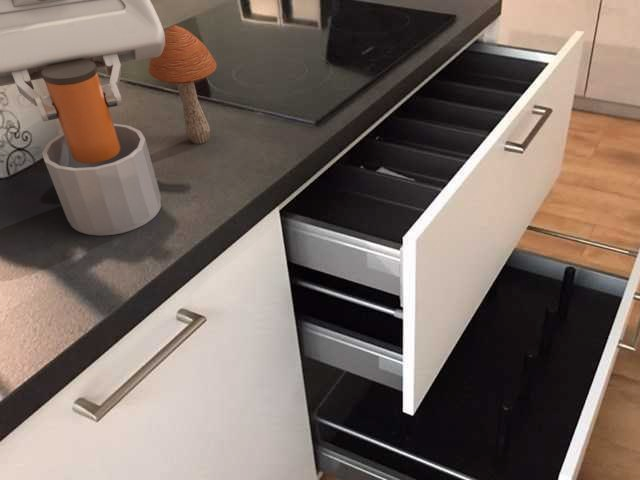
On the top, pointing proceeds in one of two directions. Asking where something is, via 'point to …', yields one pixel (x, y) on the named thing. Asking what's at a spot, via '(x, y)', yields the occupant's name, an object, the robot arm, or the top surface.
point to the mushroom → (185, 75)
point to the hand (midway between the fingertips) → (83, 111)
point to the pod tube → (82, 110)
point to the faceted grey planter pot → (106, 185)
